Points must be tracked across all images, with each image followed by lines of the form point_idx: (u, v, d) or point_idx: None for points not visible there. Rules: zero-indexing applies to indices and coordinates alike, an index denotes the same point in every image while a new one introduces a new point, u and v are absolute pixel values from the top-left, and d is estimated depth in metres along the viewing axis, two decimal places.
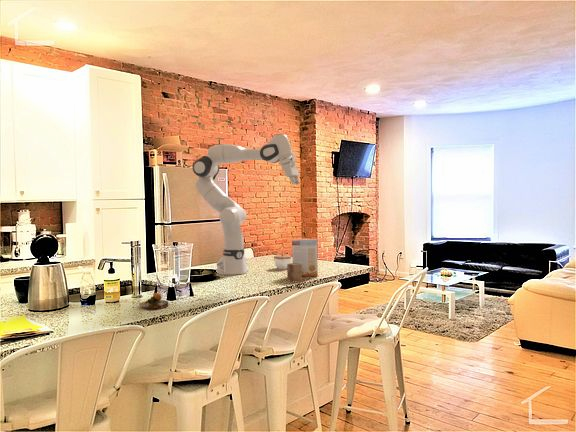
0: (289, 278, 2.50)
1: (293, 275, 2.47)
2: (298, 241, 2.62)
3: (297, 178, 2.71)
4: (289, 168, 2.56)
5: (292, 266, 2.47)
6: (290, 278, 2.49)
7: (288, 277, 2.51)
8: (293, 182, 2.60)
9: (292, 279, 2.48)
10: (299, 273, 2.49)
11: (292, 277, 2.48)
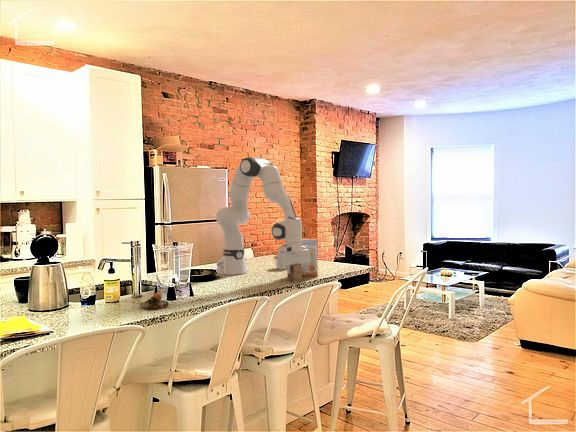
0: (289, 278, 2.50)
1: (293, 275, 2.47)
2: None
3: None
4: (281, 259, 2.43)
5: (292, 266, 2.47)
6: (290, 278, 2.49)
7: (288, 277, 2.51)
8: (288, 271, 2.48)
9: (292, 279, 2.48)
10: (299, 273, 2.49)
11: (292, 277, 2.48)
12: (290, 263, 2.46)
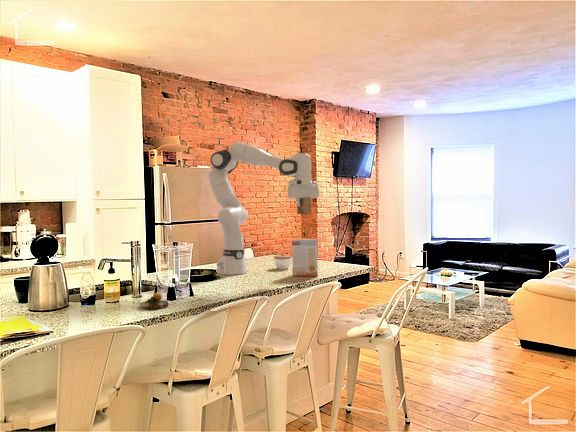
0: (299, 211, 2.62)
1: (303, 208, 2.59)
2: (298, 241, 2.62)
3: None
4: (291, 191, 2.55)
5: (302, 199, 2.59)
6: (300, 211, 2.61)
7: (298, 210, 2.63)
8: (298, 204, 2.60)
9: (302, 212, 2.60)
10: (308, 206, 2.60)
11: (302, 209, 2.60)
12: (300, 196, 2.58)
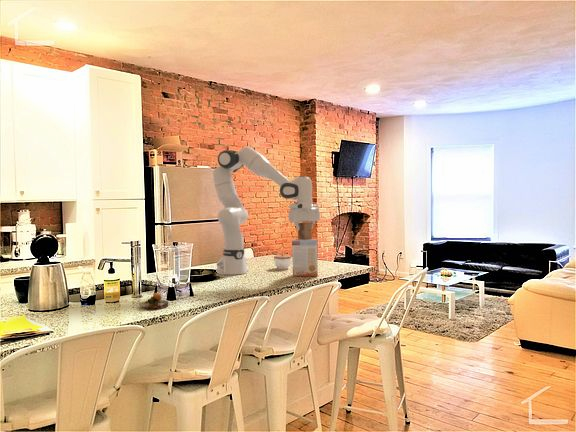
0: (300, 236, 2.64)
1: (304, 233, 2.61)
2: (298, 241, 2.62)
3: (313, 223, 2.67)
4: (292, 215, 2.56)
5: (303, 224, 2.61)
6: (301, 236, 2.63)
7: (299, 235, 2.64)
8: (297, 228, 2.61)
9: (303, 237, 2.62)
10: (309, 231, 2.62)
11: (303, 234, 2.61)
12: (301, 219, 2.60)
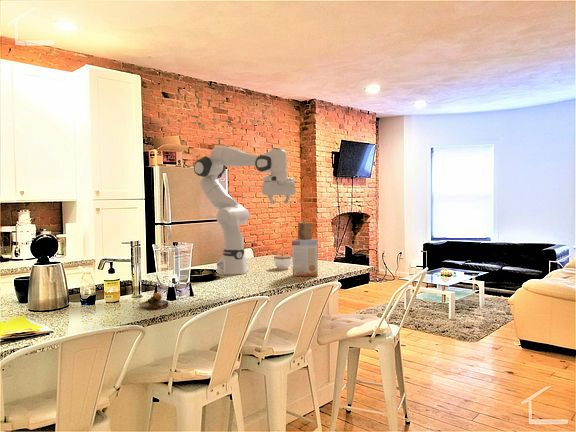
0: (300, 236, 2.64)
1: (304, 233, 2.61)
2: (298, 241, 2.62)
3: (288, 197, 2.58)
4: (265, 187, 2.48)
5: (303, 224, 2.61)
6: (301, 236, 2.63)
7: (299, 235, 2.64)
8: (271, 201, 2.52)
9: (303, 237, 2.61)
10: (309, 231, 2.62)
11: (303, 234, 2.61)
12: (275, 193, 2.51)
